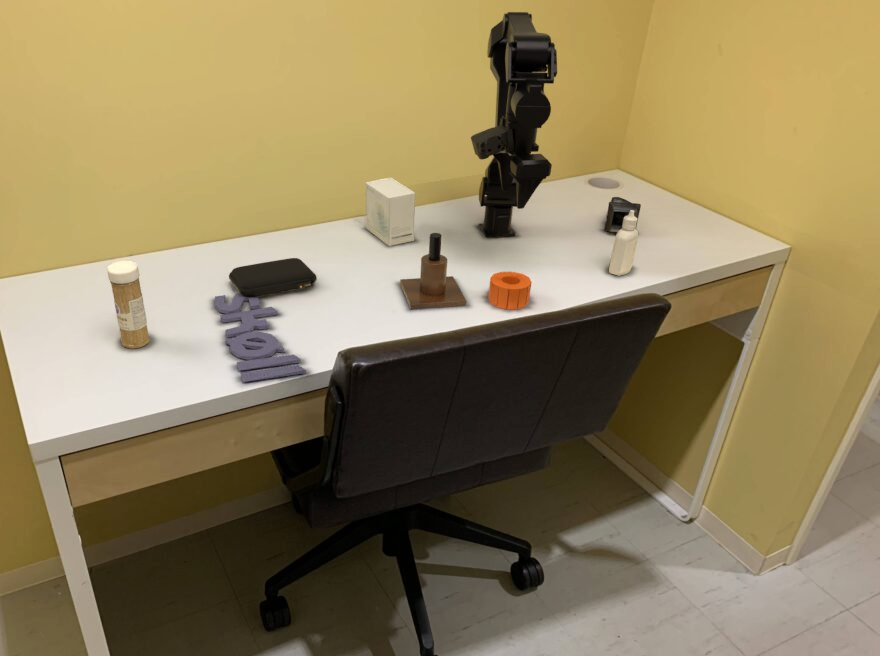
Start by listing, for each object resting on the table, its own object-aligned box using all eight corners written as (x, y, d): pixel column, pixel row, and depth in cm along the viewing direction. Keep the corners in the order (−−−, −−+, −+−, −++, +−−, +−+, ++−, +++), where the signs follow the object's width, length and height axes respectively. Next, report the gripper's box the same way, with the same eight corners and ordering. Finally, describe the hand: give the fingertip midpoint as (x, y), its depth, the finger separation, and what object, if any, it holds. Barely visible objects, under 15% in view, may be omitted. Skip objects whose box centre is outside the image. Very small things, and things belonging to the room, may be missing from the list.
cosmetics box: (364, 229, 163) (364, 180, 157) (390, 223, 166) (392, 176, 160) (387, 246, 155) (388, 197, 150) (415, 241, 158) (417, 192, 152)
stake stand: (399, 284, 141) (401, 225, 135) (452, 280, 143) (456, 222, 136) (410, 309, 133) (413, 248, 127) (466, 305, 134) (471, 244, 128)
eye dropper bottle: (639, 273, 146) (652, 213, 139) (614, 277, 144) (626, 216, 138) (625, 264, 149) (637, 205, 143) (600, 268, 148) (612, 208, 141)
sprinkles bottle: (115, 343, 123) (100, 266, 115) (139, 332, 126) (125, 257, 118) (132, 352, 121) (118, 275, 113) (156, 341, 123) (143, 265, 116)
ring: (480, 297, 137) (482, 276, 135) (510, 288, 140) (513, 268, 138) (506, 313, 132) (508, 292, 130) (536, 303, 135) (539, 283, 133)
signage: (210, 296, 135) (266, 288, 138) (211, 299, 135) (267, 292, 138) (239, 380, 113) (305, 369, 115) (240, 384, 113) (305, 373, 116)
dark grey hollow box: (630, 215, 171) (635, 187, 167) (636, 238, 160) (642, 209, 156) (600, 213, 172) (605, 185, 168) (604, 236, 161) (610, 206, 157)
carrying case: (244, 305, 133) (322, 290, 139) (243, 289, 132) (322, 275, 137) (226, 281, 141) (301, 268, 147) (225, 266, 140) (300, 253, 145)
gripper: (464, 101, 140) (457, 184, 149) (493, 129, 125) (484, 220, 133) (522, 99, 141) (513, 182, 150) (558, 127, 126) (545, 217, 135)
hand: (512, 199), depth 142 cm, fingers open, 9 cm apart
